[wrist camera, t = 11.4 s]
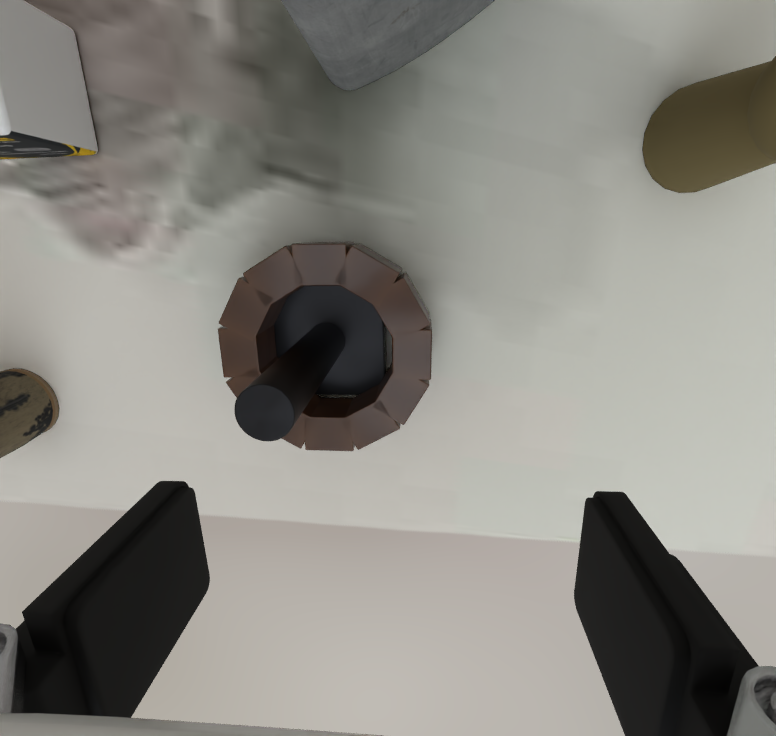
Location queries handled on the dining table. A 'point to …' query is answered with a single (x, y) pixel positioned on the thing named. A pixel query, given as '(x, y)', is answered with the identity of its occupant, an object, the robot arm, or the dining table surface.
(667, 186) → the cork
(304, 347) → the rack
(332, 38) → the hip flask
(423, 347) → the hoop
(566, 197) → the dining table surface
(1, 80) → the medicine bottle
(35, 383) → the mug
